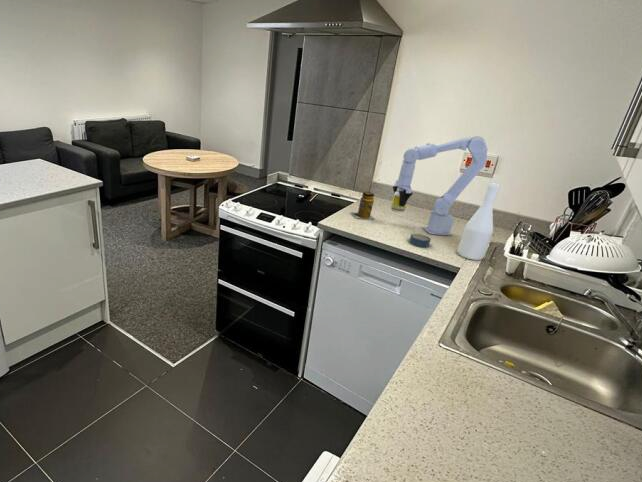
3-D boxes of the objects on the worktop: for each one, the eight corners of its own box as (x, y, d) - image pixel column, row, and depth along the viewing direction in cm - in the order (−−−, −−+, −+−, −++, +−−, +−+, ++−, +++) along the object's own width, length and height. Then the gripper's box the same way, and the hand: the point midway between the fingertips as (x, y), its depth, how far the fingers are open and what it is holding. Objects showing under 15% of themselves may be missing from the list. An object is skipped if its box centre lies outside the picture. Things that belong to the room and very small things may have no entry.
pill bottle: (406, 213, 182) (412, 190, 178) (392, 212, 182) (398, 189, 178) (401, 209, 188) (407, 186, 184) (388, 208, 188) (393, 185, 183)
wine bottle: (467, 261, 152) (493, 186, 140) (451, 250, 161) (474, 179, 149) (488, 260, 154) (515, 187, 142) (471, 250, 163) (495, 180, 151)
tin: (424, 240, 169) (425, 234, 168) (432, 248, 162) (434, 241, 161) (406, 239, 169) (408, 232, 168) (413, 246, 162) (415, 240, 160)
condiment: (373, 219, 190) (378, 195, 185) (356, 218, 188) (361, 194, 184) (366, 213, 196) (371, 190, 192) (350, 213, 195) (355, 190, 190)
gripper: (391, 171, 185) (385, 198, 190) (403, 178, 172) (396, 208, 177) (406, 172, 185) (399, 199, 190) (419, 180, 172) (411, 209, 177)
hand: (398, 203), depth 184 cm, fingers closed on pill bottle, 6 cm apart
